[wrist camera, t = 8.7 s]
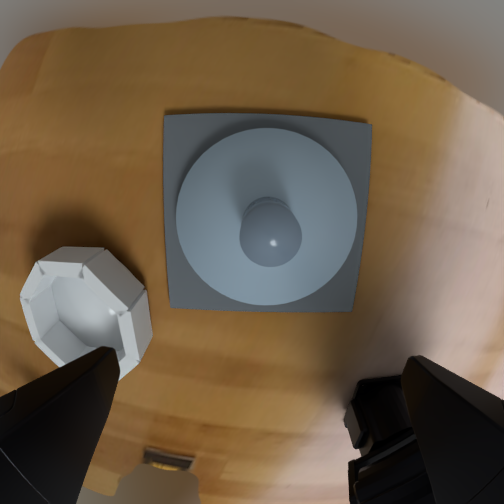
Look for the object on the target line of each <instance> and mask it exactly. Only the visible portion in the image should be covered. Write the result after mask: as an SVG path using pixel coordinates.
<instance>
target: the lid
mask: <svg viewBox="0 0 504 504" xmlns="http://www.w3.org/2000/svg"><path fill="white" fill-rule="evenodd" d="M176 226H177V233H178V237H179V242H180V245H181V247H182V250H183V253H184V255H185V256H186V258H187V260H188V262H189V264H190V265H191V266H192V268H193V269H194V271H195V272H196V273H197V274H198V275H199V276H200V278H201V279H202V280H203V281H204V282H206V283H207V284H208V285H209V286H210V287H212V288H213V289H215V290H216V291H218V292H219V293H221V294H223V295H225V296H227V297H229V298H231V299H234V300H237V301H240V302H244V303H248V304H254V305H278V304H285V303H289V302H292V301H296V300H299V299H301V298H303V297H306V296H308V295H310V294H311V293H313V292H315V291H317V290H318V289H319V288H321V287H322V286H323V285H325V284H326V283H327V282H328V281H329V280H330V279H331V278H332V277H333V276H334V275H335V274H336V273H337V272H338V270H339V269H340V268H341V266H342V265H343V263H344V262H345V260H346V259H347V256H348V254H349V252H350V250H351V248H352V245H353V242H354V238H355V234H356V228H357V204H356V199H355V194H354V191H353V188H352V185H351V183H350V180H349V178H348V176H347V174H346V173H345V171H344V169H343V168H342V166H341V165H340V164H339V162H338V161H337V160H336V159H335V158H334V157H333V156H332V154H331V153H330V152H329V151H327V150H326V149H325V148H324V147H322V146H321V145H320V144H318V143H317V142H315V141H313V140H312V139H310V138H308V137H306V136H303V135H301V134H299V133H296V132H292V131H288V130H284V129H276V128H257V129H251V130H245V131H242V132H239V133H235V134H233V135H231V136H229V137H226V138H224V139H222V140H221V141H219V142H218V143H216V144H214V145H213V146H212V147H210V148H209V149H208V150H207V151H206V152H204V153H203V154H202V155H201V156H200V158H199V159H198V160H197V161H196V162H195V163H194V165H193V166H192V168H191V169H190V171H189V172H188V174H187V176H186V178H185V180H184V182H183V184H182V187H181V190H180V193H179V196H178V202H177V207H176Z"/></svg>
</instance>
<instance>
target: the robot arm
mask: <svg viewBox="0 0 504 504" xmlns="http://www.w3.org/2000/svg"><path fill="white" fill-rule="evenodd" d="M119 377H120V366H119V362H118V358H117V354H116V350H115V349H114V348H113V347H108V346H100V347H98V348H96V349H95V350H93V351H91V352H89V353H87V354H85V355H83V356H81V357H79V358H77V359H75V360H73V361H71V362H69V363H67V364H65V365H63V366H61V367H59V368H57V369H55V370H53V371H51V372H49V373H48V374H46V375H44V376H42V377H40V378H38V379H36V380H34V381H32V382H30V383H28V384H26V385H24V386H22V387H20V388H18V389H17V390H13V391H11V392H10V393H8V394H5V395H3V396H1V397H0V504H76V502H77V499H78V496H79V493H80V490H81V487H82V484H83V481H84V479H85V476H86V473H87V470H88V467H89V465H90V462H91V459H92V456H93V454H94V451H95V448H96V446H97V443H98V441H99V438H100V435H101V433H102V430H103V428H104V425H105V423H106V420H107V418H108V415H109V412H110V409H111V405H112V401H113V398H114V394H115V391H116V387H117V384H118V380H119ZM362 385H363V386H362ZM344 425H345V427H346V428H348V431H349V434H350V438H351V441H352V445H353V447H354V448H355V449H359V450H360V453H361V457H360V458H358V459H356V460H352V461H349V462H348V468H349V470H348V481H349V501H350V504H504V400H503V399H502V400H501V399H500V398H499V397H497V396H495V395H493V394H491V393H489V392H488V391H486V390H484V389H482V388H480V387H478V386H477V385H475V384H473V383H471V382H469V381H467V380H466V379H464V378H462V377H460V376H458V375H456V374H455V373H453V372H451V371H449V370H447V369H445V368H444V367H442V366H440V365H438V364H436V363H435V362H433V361H431V360H429V359H427V358H425V357H424V356H422V355H417V356H411V357H409V358H408V360H407V363H406V365H405V368H404V371H403V373H402V375H399V376H392V377H384V378H375V379H365V380H361V381H359V382H358V384H357V387H356V390H355V393H354V396H353V399H352V400H351V401H350V403H349V406H348V409H347V412H346V415H345V422H344Z"/></svg>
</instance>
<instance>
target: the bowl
mask: <svg viewBox="0 0 504 504" xmlns="http://www.w3.org/2000/svg"><path fill="white" fill-rule="evenodd" d="M144 288H145V286H144V285H142V284H141V283H140V282H139V281H138V280H137V279H136V278H135V277H134V276H133V274H132V273H131V272H130V271H129V270H128V269H127V267H125V266H124V265H123V264H122V263H121V262H120V261H118V260H117V259H116V258H115V257H114V256H113V255H112V254H111V253H110V252H109V251H108V250H107V249H106V250H105V251H104V248H99V247H61V248H59V249H57V250H55V251H54V252H52V253H50V254H49V255H47V256H45V257H44V258H42V259H40V260H39V261H37V262H36V263H35V265H34V267H33V269H32V271H31V273H30V275H29V277H28V279H27V281H26V283H25V285H24V287H23V289H22V291H21V293H20V296H21V297H20V300H21V304H22V308H23V311H24V314H25V318H26V321H27V324H28V327H29V330H30V333H31V336H32V339H33V341H35V344H36V345H37V346H38V347H39V348H40V349H41V350H42V351H43V352H44V353H45V354H46V355H47V356H48V357H49V358H50V359H51V360H52V361H53V362H54V363H55V364H57V365H58V366H59V367H61V366H63V365H65V364H67V363H69V362H71V361H73V360H75V359H77V358H79V357H81V356H83V355H85V354H87V353H89V352H91V351H93V350H95V349H96V348H98V347H100V346H108V347H113V348H114V349H115V350H116V354H117V358H118V362H119V366H120V377H119V380H120V379H121V378H123V377H124V376H125V375H126V374H127V373H128V372H130V371H131V370H132V369H133V368H134V367H135V366H136V365H138V364H139V363H140V361H141V359H142V357H143V355H144V353H145V351H146V349H147V347H148V345H149V343H150V341H151V339H152V336H153V333H152V327H151V320H150V313H149V305H148V298H147V290H143V289H144ZM119 380H118V381H119Z"/></svg>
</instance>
